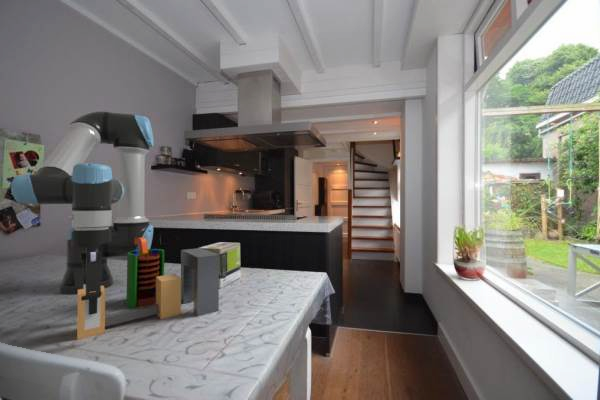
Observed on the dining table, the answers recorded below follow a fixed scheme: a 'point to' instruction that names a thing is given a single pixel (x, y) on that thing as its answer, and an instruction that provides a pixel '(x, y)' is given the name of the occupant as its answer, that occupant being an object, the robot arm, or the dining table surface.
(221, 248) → the tea box
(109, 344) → the dining table surface
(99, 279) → the robot arm
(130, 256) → the motor
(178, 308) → the tan u-shaped piece
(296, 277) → the dining table surface
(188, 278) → the housing
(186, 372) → the dining table surface
